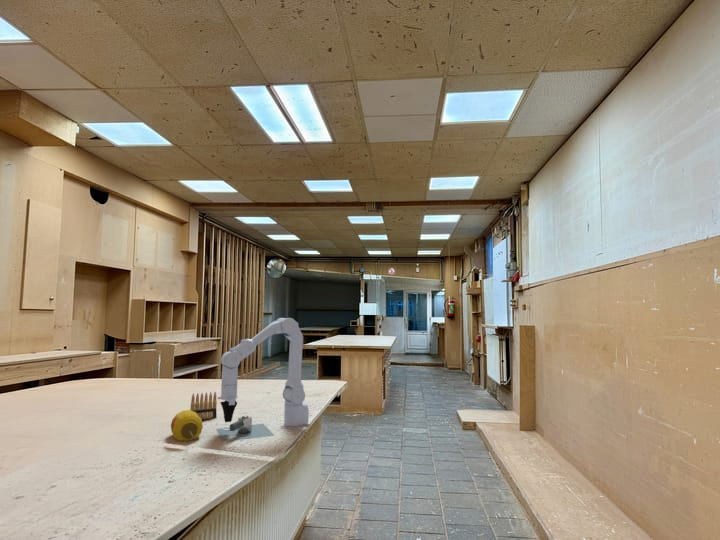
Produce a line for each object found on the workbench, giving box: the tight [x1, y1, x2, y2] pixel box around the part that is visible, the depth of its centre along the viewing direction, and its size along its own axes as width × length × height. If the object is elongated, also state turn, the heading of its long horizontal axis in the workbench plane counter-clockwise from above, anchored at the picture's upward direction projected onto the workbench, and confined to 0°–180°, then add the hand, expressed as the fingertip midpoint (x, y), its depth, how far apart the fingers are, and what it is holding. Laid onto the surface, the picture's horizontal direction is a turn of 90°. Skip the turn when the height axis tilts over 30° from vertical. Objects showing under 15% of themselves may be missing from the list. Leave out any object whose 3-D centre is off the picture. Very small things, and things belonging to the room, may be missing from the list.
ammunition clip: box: [189, 391, 218, 423], centre depth 172 cm, size 11×2×12 cm, turn 119°
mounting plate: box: [216, 423, 275, 443], centre depth 151 cm, size 18×18×1 cm
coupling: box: [229, 415, 253, 433], centre depth 148 cm, size 12×5×5 cm, turn 169°
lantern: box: [170, 409, 204, 442], centre depth 146 cm, size 10×10×30 cm
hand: (228, 421), depth 151 cm, fingers closed
